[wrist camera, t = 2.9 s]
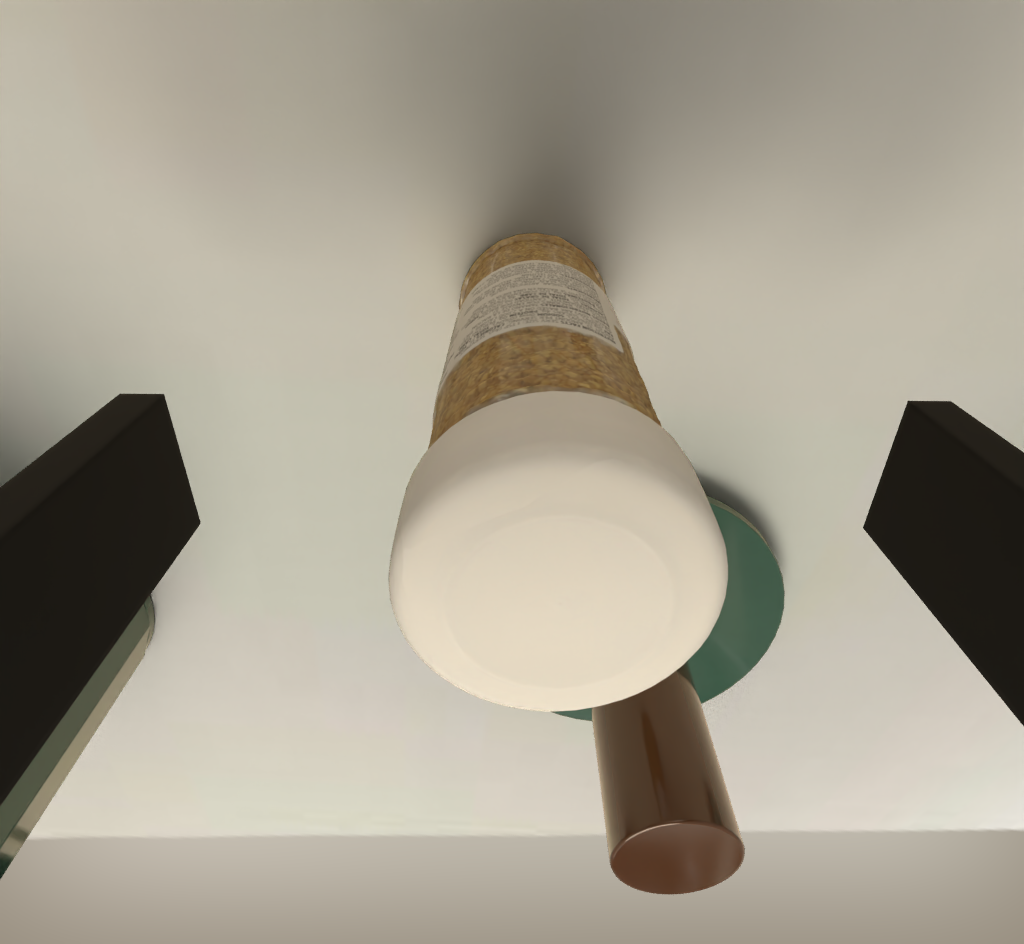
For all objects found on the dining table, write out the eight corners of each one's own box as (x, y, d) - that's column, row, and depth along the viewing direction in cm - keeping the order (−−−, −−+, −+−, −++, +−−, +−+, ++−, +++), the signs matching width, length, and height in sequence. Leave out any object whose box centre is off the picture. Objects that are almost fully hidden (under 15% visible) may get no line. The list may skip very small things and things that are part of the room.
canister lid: (807, 475, 23) (987, 715, 14) (741, 701, 29) (839, 966, 20) (470, 471, 23) (444, 709, 14) (476, 699, 29) (460, 963, 20)
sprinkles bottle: (585, 385, 21) (673, 743, 10) (448, 361, 21) (368, 705, 9) (623, 243, 19) (797, 491, 7) (469, 212, 18) (399, 425, 7)
